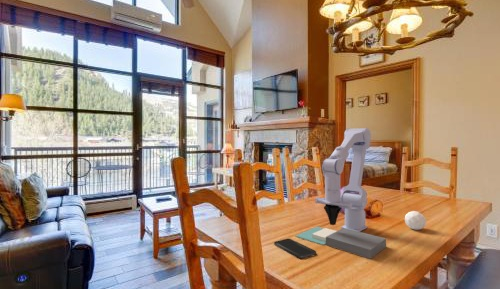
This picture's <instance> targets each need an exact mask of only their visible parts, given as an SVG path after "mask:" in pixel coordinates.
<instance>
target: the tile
mask: <svg viewBox="0 0 500 289" xmlns="http://www.w3.org/2000/svg"><path fill="white" fill-rule="evenodd" d="M323 228H324V229H322V230H320V231H317V232H315V233H313V234H312V238H314V239H318V240H321V241H324V242H326V236H328V235H330V234H333V233H335V232H337V231H338V230H334V229H331V228H326V227H323Z"/></svg>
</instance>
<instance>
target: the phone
mask: <svg viewBox="0 0 500 289" xmlns="http://www.w3.org/2000/svg"><path fill="white" fill-rule="evenodd" d="M273 245H274V246H276V247H277V248H279V249H281V250H282V251H285V252H286V253H288V254H289V255H291V256H293V257H295V258H296V259H299V260H304V259H307V258H310V257H314V256H317V250H314V249H313V248H311V247H308V246H307V245H304V244H303V243H300V242H298V241H296V240H294V239H291V238H290V237H289V238H285V239H284V238H283V239H280V240H276V241H274V243H273Z"/></svg>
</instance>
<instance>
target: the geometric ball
mask: <svg viewBox="0 0 500 289" xmlns="http://www.w3.org/2000/svg"><path fill="white" fill-rule="evenodd" d="M404 216H405V217H404V222H405V225H406V226H407V227H409V228H410V229H412V230H414V231H419V230H422V229H424V228H425V227H426V225H427V220H426V217H425V215H423V214H422V213H421V212H419V211H417V210H416V211H415V210H412V211H409V212H407V213H406V214H405V215H404Z"/></svg>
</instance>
